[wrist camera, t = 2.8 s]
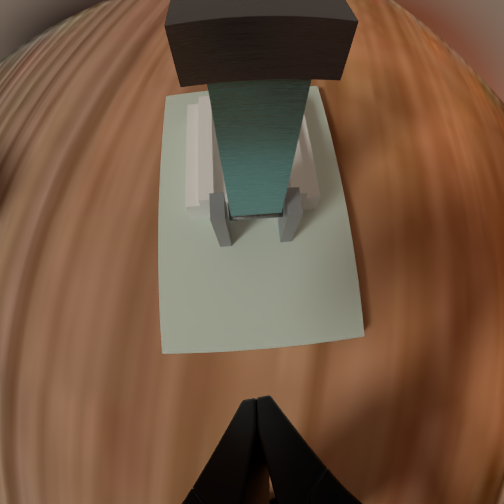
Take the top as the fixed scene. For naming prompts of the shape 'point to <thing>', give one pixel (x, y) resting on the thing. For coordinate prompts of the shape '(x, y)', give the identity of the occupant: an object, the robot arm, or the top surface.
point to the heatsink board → (251, 244)
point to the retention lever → (258, 82)
